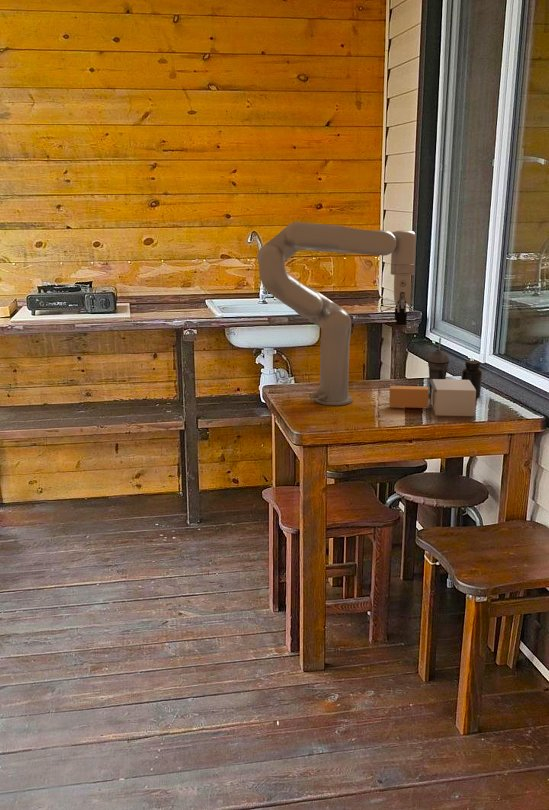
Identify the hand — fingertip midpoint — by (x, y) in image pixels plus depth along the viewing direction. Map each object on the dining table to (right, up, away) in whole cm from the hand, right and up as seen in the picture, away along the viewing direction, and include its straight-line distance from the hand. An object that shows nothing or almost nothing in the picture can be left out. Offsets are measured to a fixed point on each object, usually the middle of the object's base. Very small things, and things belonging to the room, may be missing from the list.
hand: (400, 322), depth 248 cm
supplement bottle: (+26, -24, +11) cm, 37 cm away
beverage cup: (+15, -24, +14) cm, 31 cm away
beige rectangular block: (+16, -29, -5) cm, 33 cm away
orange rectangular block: (+2, -27, -4) cm, 28 cm away
